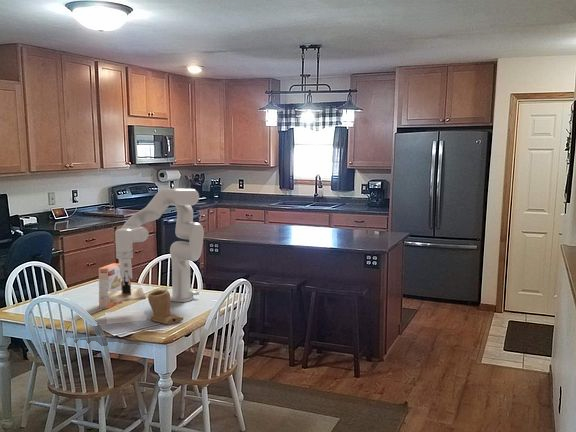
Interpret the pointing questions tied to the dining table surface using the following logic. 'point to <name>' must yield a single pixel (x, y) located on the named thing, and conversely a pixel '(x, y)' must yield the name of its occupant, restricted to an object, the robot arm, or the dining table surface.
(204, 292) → the dining table surface
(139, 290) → the lid
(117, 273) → the cracker box
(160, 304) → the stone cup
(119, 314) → the mat
